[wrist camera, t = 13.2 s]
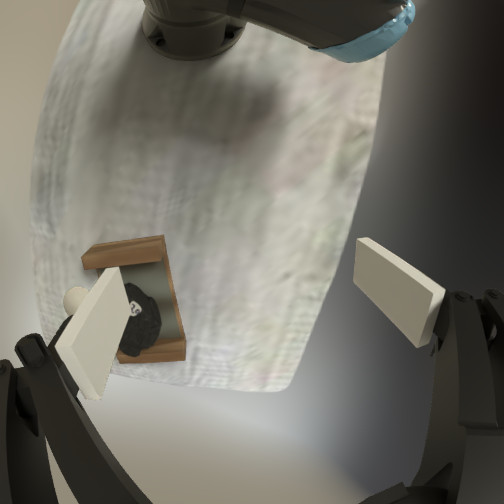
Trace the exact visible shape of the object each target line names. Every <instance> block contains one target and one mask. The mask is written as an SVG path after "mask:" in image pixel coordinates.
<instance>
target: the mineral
mask: <svg viewBox="0 0 504 504" xmlns="http://www.w3.org/2000/svg"><path fill="white" fill-rule="evenodd" d="M123 284H124V283H123ZM124 288H125V291H126V295H127V298H128V301H129V305H130V308H131V313H130V316H129V319H128V321H127V324H126V327H125V329H124V332H123V335H122V337H121V340H120V343H119V347H120V350H121V351H122V352H123V353H124V354H126V355H127V356H132V357H137V356H139V355H140V353H141V350H142V349H148V348H149V347H150V346H153V345H154V344H155V342H156V341H157V338H158V337H159V333H160V330H161V326H162V321H161V316H160V311H159V309H158V305H157V304H156V301H155V300H154V298H152V297H151V296H150V297H148V296H147V295H146V294H144V293H143V291H142V290H141V289H140V288H139V287H138V286H136V285H134V284H132V283H130V282H128V283H127V284H124Z"/></svg>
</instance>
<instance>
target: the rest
mask: <svg viewBox="0 0 504 504" xmlns="http://www.w3.org/2000/svg"><path fill="white" fill-rule="evenodd" d="M81 259H82V262H83V266H84V270H89V269H97V272H98V276H99V278H100V276H101V275H102V274H103V272H104V271H105V270H106V268H113V267H119V269H120V273H121V277H122V280H123V283H124V284H127V283H128V282H130V283H132V284H134V285H136V286H138V287H139V288H140V289H141V290H142V291H143V293H144V294H146V295H147V296H148V297H150V296H151V297H152V298H154V300H155V301H156V304H157V305H158V309H159V311H160V316H161V321H162V326H161V330H160V333H159V337H158V338H157V341H156V342H155V344H154V345H153V346H150V347H149V348H148V349H142V350H141V353H140V355H139V356H137V357H132V356H127V355H126V354H124V353H123V352H122V351H121V350H120V347H119V348H118V351H117V354H116V356H117V359H118V361H119V363H120V364H126V363H153V362H170V361H184V360H185V357H186V338H185V334H184V330H183V326H182V322H181V318H180V313H179V309H178V305H177V300H176V296H175V291H174V286H173V282H172V277H171V272H170V267H169V261H168V256H167V251H166V245H165V239H164V235H161V236H153V237H146V238H138V239H131V240H124V241H117V242H110V243H103V244H96V245H93V246H92V247H91V248H90V249H89V250H88V251H87V252H86V253H85V254H84V255H83V256H82V257H81Z"/></svg>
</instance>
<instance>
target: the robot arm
mask: <svg viewBox="0 0 504 504" xmlns="http://www.w3.org/2000/svg"><path fill="white" fill-rule="evenodd" d="M143 1H144V3H145V5H146V6H145V10H144V14H143V18H142V27H143V32H144V35H145V37H146V39H147V40H148V42H149V44H150V45H151V46H152V47H153V48H154V49H155V50H156V51H157V52H159V53H160V54H162V55H164V56H166V57H169V58H172V59H176V60H184V61H194V60H202V59H206V58H210V57H213V56H216V55H218V54H220V53H222V52H224V51H226V50H227V49H229V48H230V47H231V46H232V45H234V44H235V43H236V42H237V40H238V39H239V38H240V37H241V35H242V33H243V31H244V29H245V26H246V23H247V22H249V23H252V24H255V25H258V26H261V27H263V28H266V29H269V30H271V31H274V32H276V33H279V34H281V35H284V36H286V37H288V38H291V39H293V40H295V41H297V42H300V43H302V44H304V45H306V46H308V48H309V49H311V50H313V51H317V52H322V53H324V54H326V55H329V56H331V57H333V58H335V59H337V60H339V61H342V62H345V63H353V62H356V63H359V62H363V61H367V60H369V59H372V58H374V57H376V56H378V55H380V54H381V53H383V52H384V51H386V50H387V49H389V48H390V47H391V46H393V45H394V44H395V43H396V42H397V41H398V40H399V39H400V38H401V37H402V36H403V35H404V34H405V33H406V31H407V30H408V27H407V25H409V24H410V23H412V22H413V19H414V16H415V7H414V4H413V3H412V1H411V0H143ZM353 282H354V283H355V284H356V285H357V286H358V287H359V288H360V289H361V290H362V291H363V292H364V293H365V294H366V295H367V296H368V297H369V298H370V299H371V300H372V301H373V302H374V303H375V304H376V305H377V306H378V307H379V308H380V309H381V310H382V312H383V313H384V314H385V315H386V316H387V317H388V318H389V319H390V320H391V321H392V322H393V323H394V324H395V325H396V326H397V327H398V328H399V329H400V330H401V331H402V332H403V333H404V334H405V336H406V337H407V338H408V339H409V340H410V341H411V342H412V343H413V344H414V345H415V346H416V347H417V348H418V347H421V346H423V345H426V344H428V343H429V342H430V339H431V336H432V333H433V332H434V333H435V334H436V335H437V339H436V342H435V344H434V347H433V349H432V352H431V355H430V356H433V353H435V364H434V366H435V367H434V382H433V394H432V403H431V411H430V419H429V426H428V432H427V438H426V443H425V448H424V453H423V457H422V461H421V465H420V468H419V471H418V473H417V474H416V476H415V478H414V480H413V482H412V484H411V486H410V487H405V486H404V484H403V482H401V483H399V484H397V485H395V486H393V487H391V488H388V489H386V490H384V491H382V492H380V493H377V494H375V495H373V496H370V497H368V498H367V499H365V500H364V501H362V502H361V503H359V504H504V294H503V293H501V292H499V290H497V289H486V290H485V291H484V294H483V297H482V299H475V298H474V297H473V296H472V295H471V294H469V293H467V292H464V291H453V292H450V291H449V290H447V289H446V288H445V287H443V286H442V285H440V284H439V283H438V282H435V280H433V279H432V278H430V277H429V276H428V275H426V274H425V273H423V272H421V271H418V270H417V269H415V268H414V267H412V266H411V265H409V264H408V263H407V262H405V261H404V260H402V259H401V258H399V257H397V256H396V255H394V254H393V253H391V252H390V251H388V250H387V249H385V248H384V247H382V246H381V245H379V244H377V243H376V242H374V241H372V240H371V239H369V238H368V237H367V238H359V239H357V242H356V256H355V268H354V278H353ZM130 313H131V308H130V305H129V301H128V298H127V295H126V291H125V288H124V284H123V280H122V277H121V273H120V269H119V267H113V268H106V270H105V271H104V272H103V274H102V275H101V276H100V278H99V279H98V281H97V282H96V283H95V285H94V286H93V288H92V289H91V290H90V292H89V293H88V295H87V296H86V298H85V299H84V301H83V302H82V303H81V305H80V306H79V308H78V309H77V311H76V313H75V314H74V315H71V316H69V317H68V318H67V319H66V320H65V321H64V322H63V323H62V325H61V326H60V328H59V329H58V331H57V332H56V335H55V336H54V337H53V339H52V340H51V342H50V344H49V345H48V347H47V346H46V344H45V342H44V340H43V338H42V336H41V335H40V334H37V333H33V334H29V335H26V336H25V337H23V338H21V339H20V340H19V341H18V342H17V344H16V346H15V352H16V354H17V355H18V357H19V359H20V361H21V362H22V364H23V366H24V367H21V368H14V367H13V366H12V364H11V362H10V361H9V360H6V359H3V360H0V504H59V503H58V499H57V496H56V492H55V488H54V484H53V479H52V475H51V471H50V465H49V460H48V453H47V448H46V440H45V436H46V438H47V441H48V444H49V446H50V448H51V450H52V453H53V455H54V457H55V459H56V462H57V464H58V466H59V468H60V470H61V472H62V474H63V476H64V478H65V480H66V482H67V484H68V486H69V487H70V489H71V491H72V493H73V494H74V496H75V498H76V499H77V501H78V503H79V504H153V503H152V502H151V501H150V500H149V499H148V498H147V497H146V495H145V494H144V493H143V492H142V491H141V490H140V489H139V487H138V486H137V485H136V484H135V483H134V481H133V480H132V479H131V478H130V476H129V475H128V474H127V473H126V472H125V470H124V469H123V468H122V466H121V465H120V464H119V462H118V461H117V459H116V458H115V457H114V455H113V454H112V453H111V451H110V450H109V448H108V447H107V445H106V444H105V442H104V441H103V439H102V438H101V436H100V435H99V433H98V432H97V430H96V428H95V427H94V425H93V424H92V422H91V420H90V418H89V417H88V415H87V413H86V412H85V410H84V408H83V406H82V404H81V402H80V401H79V400H78V398H77V393H78V391H79V390H80V391H81V393H82V394H83V396H84V397H85V399H95V400H101V399H102V395H103V392H104V388H105V385H106V382H107V379H108V376H109V372H110V369H111V366H112V363H113V360H114V357H115V354H116V352H117V349H118V346H119V343H120V340H121V337H122V335H123V332H124V329H125V327H126V324H127V321H128V319H129V316H130ZM495 327H496V329H497V334H496V337H495V338H493V336H492V334H493V332H494V329H495ZM496 421H497V424H498V427H497V424H496Z"/></svg>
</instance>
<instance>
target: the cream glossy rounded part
mask: <svg viewBox="0 0 504 504" xmlns="http://www.w3.org/2000/svg"><path fill="white" fill-rule="evenodd" d="M89 292H90V291H89V290H87V289H85V288H81V287H74V288H71V289H69V290H68V291H67V292H66V294H65V296H64V300H63V303H64V308H65V310H66V312H67V314H68V315H69V316H71V315H74V314H75V313H76V311H77V309H78V308H79V306H80V305H81V303H82V302H83V301H84V299H85V298H86V296H87V295H88V293H89Z"/></svg>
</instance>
